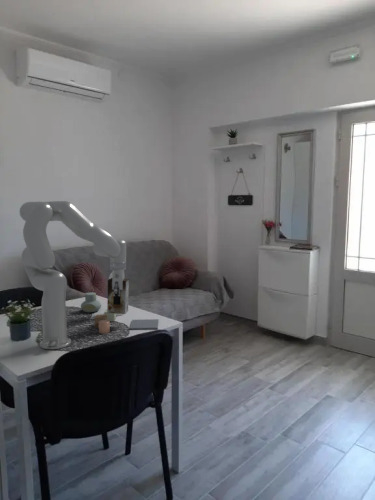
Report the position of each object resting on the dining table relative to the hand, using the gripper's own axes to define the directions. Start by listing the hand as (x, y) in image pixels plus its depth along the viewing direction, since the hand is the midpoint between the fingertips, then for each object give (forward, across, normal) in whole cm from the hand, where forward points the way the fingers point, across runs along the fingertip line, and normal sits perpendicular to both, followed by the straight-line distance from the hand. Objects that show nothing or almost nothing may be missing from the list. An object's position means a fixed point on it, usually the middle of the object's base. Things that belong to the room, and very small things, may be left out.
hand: (118, 302), depth 187 cm
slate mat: (+11, +1, -13) cm, 17 cm away
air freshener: (+12, +27, +18) cm, 34 cm away
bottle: (+11, +21, +3) cm, 24 cm away
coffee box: (+5, 0, 0) cm, 5 cm away
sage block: (+12, +10, +5) cm, 16 cm away
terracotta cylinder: (+12, -8, +5) cm, 15 cm away
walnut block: (+12, +1, +8) cm, 15 cm away
